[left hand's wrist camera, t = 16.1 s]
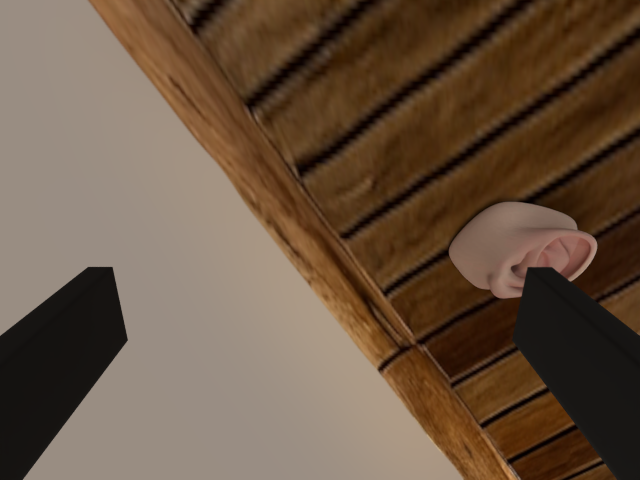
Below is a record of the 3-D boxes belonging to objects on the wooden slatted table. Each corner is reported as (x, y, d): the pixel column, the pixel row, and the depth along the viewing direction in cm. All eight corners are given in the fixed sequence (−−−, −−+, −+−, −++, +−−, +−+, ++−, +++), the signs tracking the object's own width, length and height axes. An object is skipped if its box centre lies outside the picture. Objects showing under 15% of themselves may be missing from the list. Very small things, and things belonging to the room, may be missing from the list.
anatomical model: (445, 285, 42) (504, 188, 38) (435, 269, 46) (487, 179, 42) (549, 327, 44) (615, 238, 40) (532, 308, 48) (590, 225, 44)
